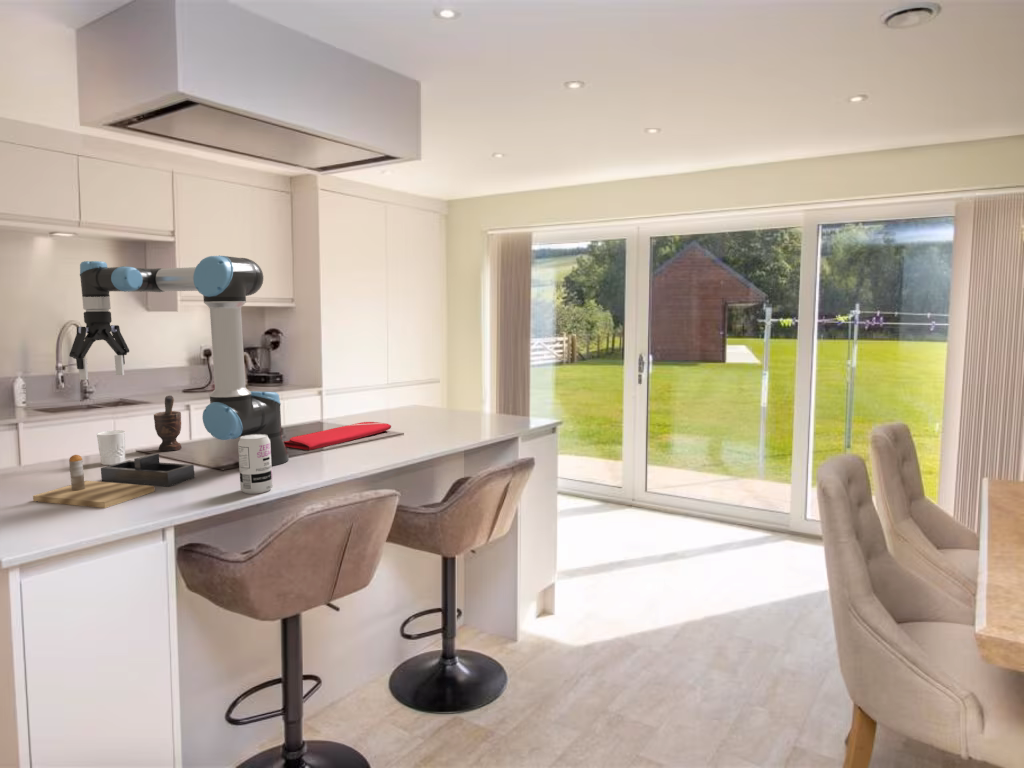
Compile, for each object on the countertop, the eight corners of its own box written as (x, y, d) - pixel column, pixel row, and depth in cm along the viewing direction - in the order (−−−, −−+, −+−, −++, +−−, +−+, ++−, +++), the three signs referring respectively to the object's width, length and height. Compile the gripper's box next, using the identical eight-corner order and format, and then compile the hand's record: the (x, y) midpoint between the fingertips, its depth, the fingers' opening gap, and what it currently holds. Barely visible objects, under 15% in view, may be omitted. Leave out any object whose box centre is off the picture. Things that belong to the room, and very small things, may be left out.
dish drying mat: (280, 447, 250) (280, 436, 249) (364, 429, 284) (363, 420, 283) (310, 452, 241) (309, 441, 241) (392, 432, 275) (392, 423, 274)
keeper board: (154, 491, 190) (151, 452, 189) (105, 508, 175) (101, 465, 174) (86, 485, 197) (83, 447, 196) (33, 501, 182) (29, 460, 181)
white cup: (114, 466, 221) (112, 435, 220) (93, 465, 223) (90, 434, 222) (132, 460, 229) (130, 430, 228) (112, 459, 231) (109, 430, 229)
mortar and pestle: (193, 449, 245) (189, 393, 243) (169, 454, 238) (165, 396, 236) (175, 446, 252) (171, 391, 249) (151, 450, 245) (147, 394, 242)
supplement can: (245, 487, 194) (242, 434, 192) (276, 486, 194) (273, 433, 193) (236, 495, 186) (233, 439, 184) (268, 493, 186) (265, 439, 184)
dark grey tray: (129, 473, 211) (128, 450, 211) (194, 478, 204) (192, 454, 204) (101, 481, 202) (99, 457, 201) (168, 486, 195) (166, 462, 194)
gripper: (120, 310, 233) (125, 373, 236) (51, 311, 209) (58, 381, 212) (138, 310, 231) (143, 373, 233) (71, 311, 207) (77, 381, 210)
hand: (102, 377), depth 223 cm, fingers open, 13 cm apart
